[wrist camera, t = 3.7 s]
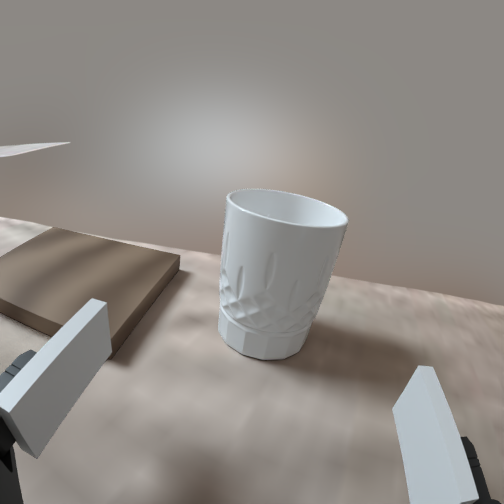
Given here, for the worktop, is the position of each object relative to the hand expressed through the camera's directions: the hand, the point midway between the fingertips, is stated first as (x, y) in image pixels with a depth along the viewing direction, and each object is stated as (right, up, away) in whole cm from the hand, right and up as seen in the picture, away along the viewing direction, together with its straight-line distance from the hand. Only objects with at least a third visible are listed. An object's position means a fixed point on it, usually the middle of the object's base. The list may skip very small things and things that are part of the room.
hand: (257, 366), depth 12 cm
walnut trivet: (-16, +2, +13) cm, 21 cm away
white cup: (0, -2, +12) cm, 12 cm away
